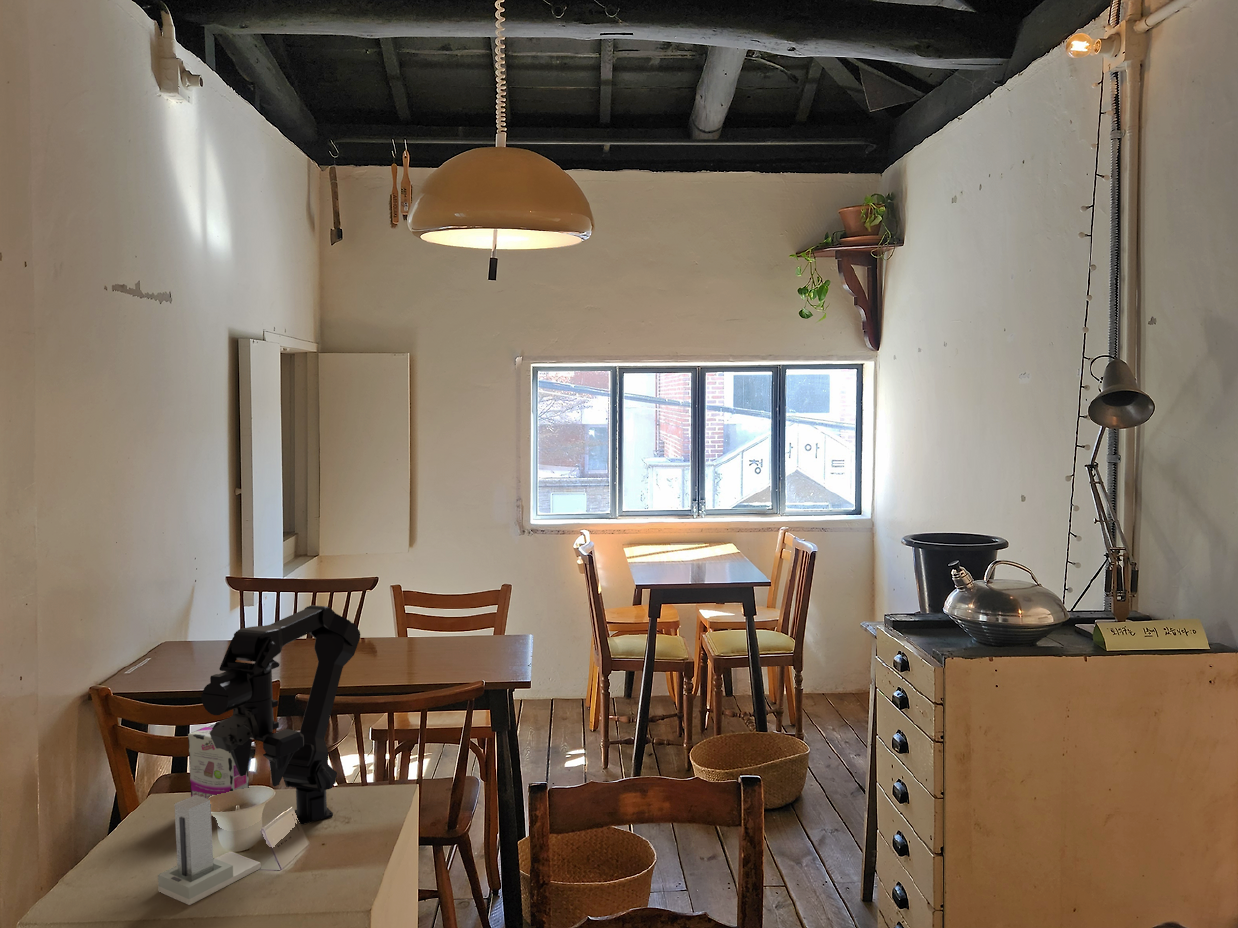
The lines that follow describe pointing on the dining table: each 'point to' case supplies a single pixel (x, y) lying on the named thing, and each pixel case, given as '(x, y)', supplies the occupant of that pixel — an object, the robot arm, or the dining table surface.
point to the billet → (193, 838)
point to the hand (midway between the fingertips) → (259, 780)
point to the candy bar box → (212, 767)
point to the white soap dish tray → (207, 878)
